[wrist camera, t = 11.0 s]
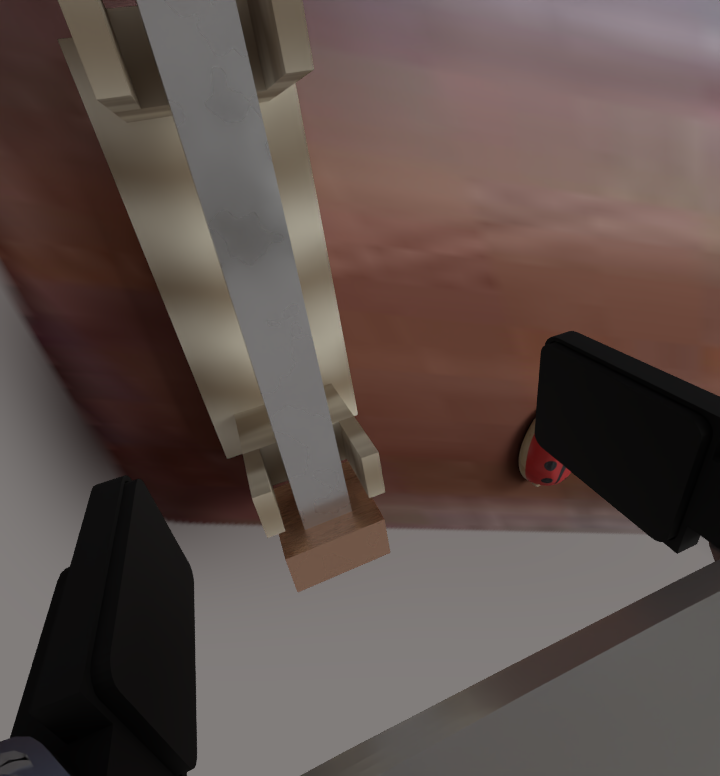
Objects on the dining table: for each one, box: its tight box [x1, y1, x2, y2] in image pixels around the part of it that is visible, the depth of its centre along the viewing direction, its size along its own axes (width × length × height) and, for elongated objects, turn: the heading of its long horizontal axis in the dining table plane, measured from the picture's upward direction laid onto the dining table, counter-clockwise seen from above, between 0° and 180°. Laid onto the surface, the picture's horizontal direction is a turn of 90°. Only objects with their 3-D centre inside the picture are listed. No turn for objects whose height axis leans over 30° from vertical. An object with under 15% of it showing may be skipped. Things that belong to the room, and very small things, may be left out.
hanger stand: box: [58, 0, 385, 538], centre depth 22 cm, size 24×10×10 cm, turn 10°
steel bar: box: [135, 0, 390, 592], centre depth 20 cm, size 32×6×6 cm, turn 10°
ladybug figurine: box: [519, 418, 571, 487], centre depth 43 cm, size 7×10×4 cm
